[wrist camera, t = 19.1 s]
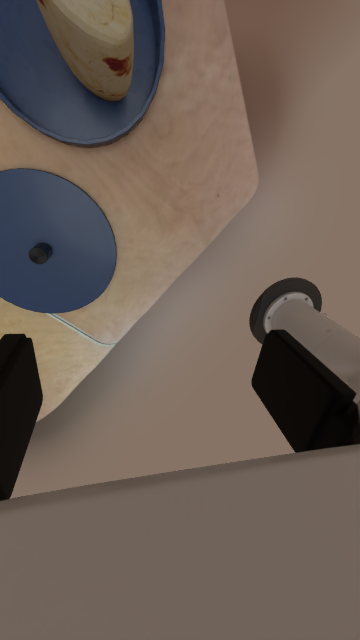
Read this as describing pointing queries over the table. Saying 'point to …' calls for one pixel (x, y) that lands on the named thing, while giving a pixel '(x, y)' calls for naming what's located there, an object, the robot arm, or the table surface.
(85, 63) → the food model
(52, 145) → the table surface
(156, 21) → the pot
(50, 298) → the pot lid
